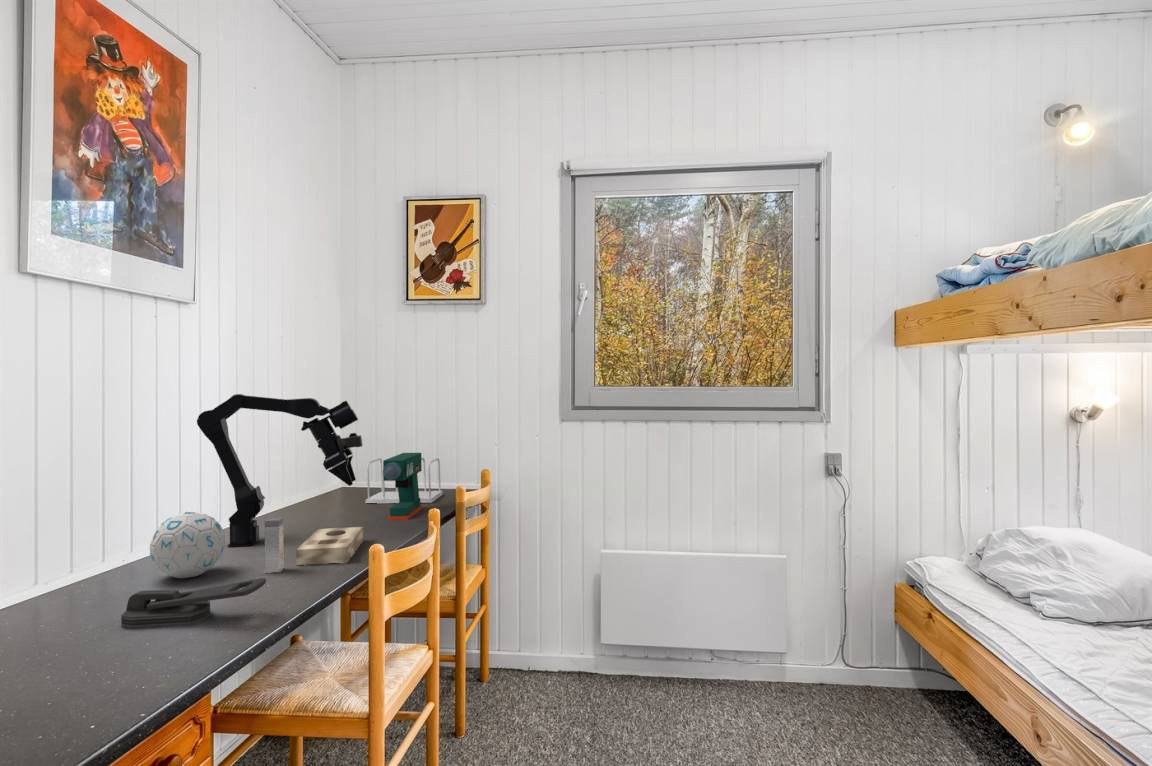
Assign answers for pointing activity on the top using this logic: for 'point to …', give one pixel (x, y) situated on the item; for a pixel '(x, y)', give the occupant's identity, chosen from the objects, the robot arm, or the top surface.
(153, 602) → the zipper pull
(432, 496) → the file sorter
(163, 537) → the puzzle ball
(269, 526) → the square bit
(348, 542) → the bore board
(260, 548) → the top surface
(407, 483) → the power tool
